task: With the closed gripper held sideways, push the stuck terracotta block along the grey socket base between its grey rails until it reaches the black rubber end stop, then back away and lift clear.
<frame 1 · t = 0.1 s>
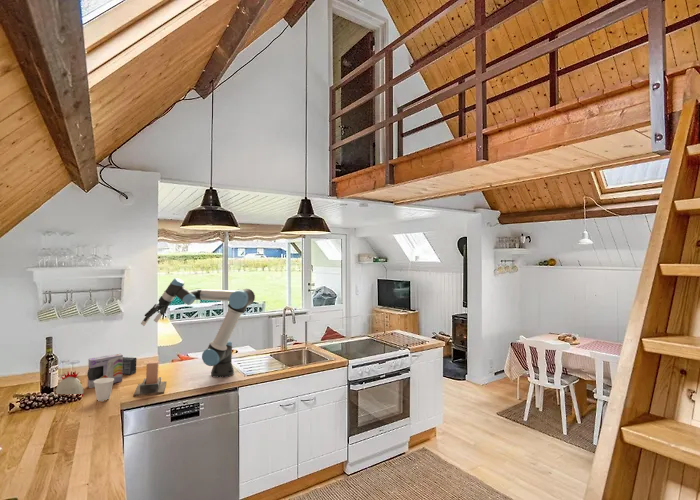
hand: (148, 323, 265), 36 cm above the worktop, tool tilted 35°, fingers open, 13 cm apart
red-crested grey dome: (68, 397, 223), on the worktop
cake pan box: (104, 384, 245), on the worktop
small box: (126, 373, 268), on the worktop
block: (152, 373, 244), point 8 cm above the worktop, slide at 0.0 cm
cup: (103, 400, 220), on the worktop
grey socket base: (150, 389, 238), on the worktop
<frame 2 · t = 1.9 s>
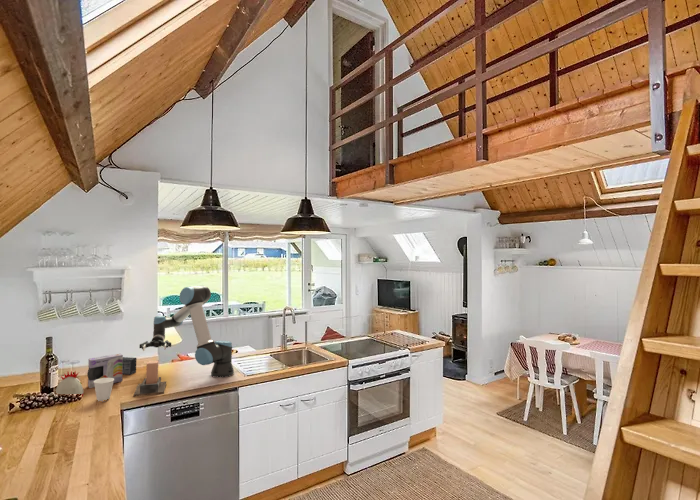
hand: (154, 348, 251), 22 cm above the worktop, tool horizontal, fingers open, 12 cm apart
nothing on the worktop moved.
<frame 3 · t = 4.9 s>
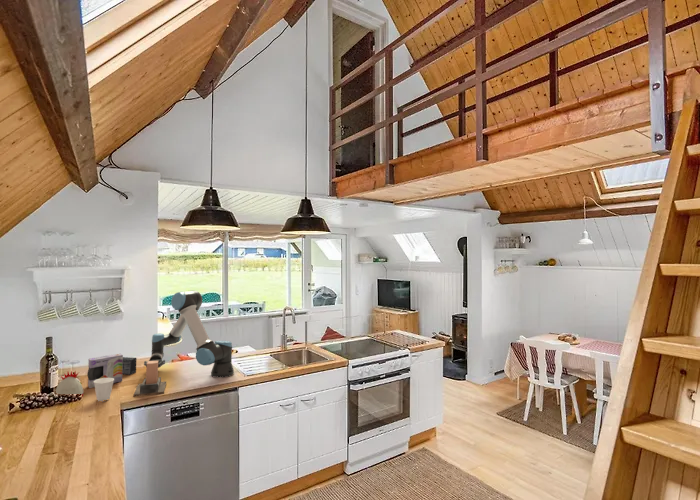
hand: (151, 369, 246), 10 cm above the worktop, tool horizontal, fingers closed
block: (152, 373, 243), point 8 cm above the worktop, slide at 0.3 cm, touching gripper
everything else where it was.
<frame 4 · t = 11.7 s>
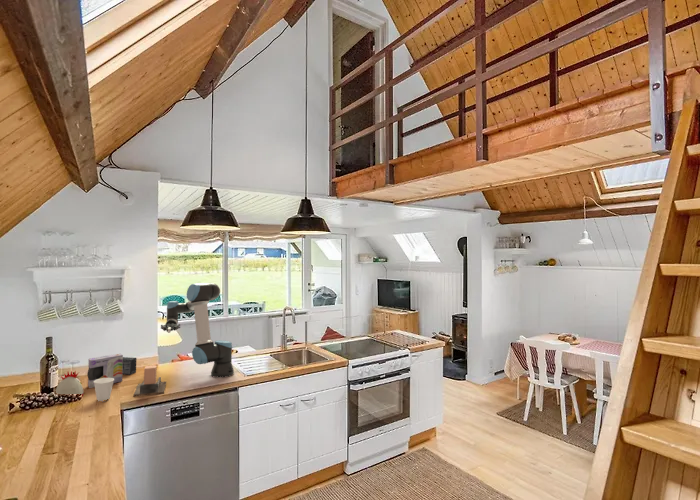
hand: (169, 330, 259), 32 cm above the worktop, tool horizontal, fingers closed
block: (150, 378, 233), point 8 cm above the worktop, slide at 11.0 cm
everything else where it was.
at the end: block slide at 11.0 cm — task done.
